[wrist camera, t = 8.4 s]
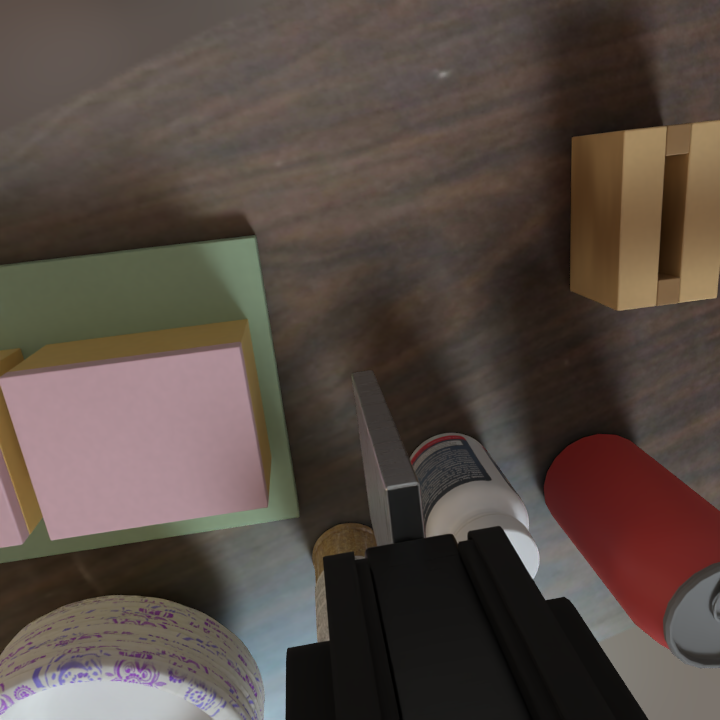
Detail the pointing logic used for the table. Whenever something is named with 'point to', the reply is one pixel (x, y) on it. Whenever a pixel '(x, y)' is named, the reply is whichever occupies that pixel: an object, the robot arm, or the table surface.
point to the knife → (425, 590)
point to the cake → (142, 428)
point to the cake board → (143, 314)
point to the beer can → (643, 541)
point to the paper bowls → (128, 665)
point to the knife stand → (646, 215)
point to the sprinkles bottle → (330, 544)
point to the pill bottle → (469, 494)
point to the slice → (14, 473)
